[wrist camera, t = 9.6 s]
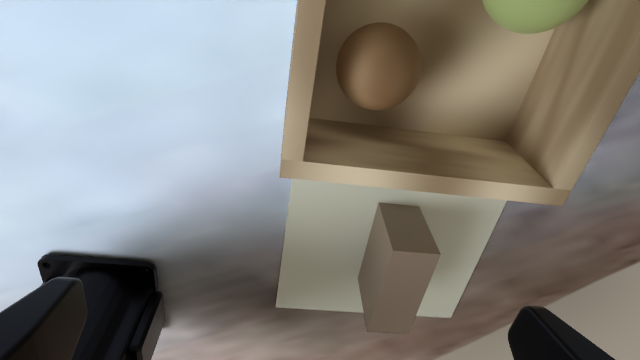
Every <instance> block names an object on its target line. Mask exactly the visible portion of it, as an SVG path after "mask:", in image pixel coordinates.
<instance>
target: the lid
mask: <svg viewBox="0 0 640 360" xmlns="http://www.w3.org/2000/svg"><path fill="white" fill-rule="evenodd" d="M506 202H507V200H499V199H489V198H479V197H469V196H459V195H449V194H440V193H430V192H420V191H410V190H400V189H390V188H381V187H371V186H361V185H351V184H341V183H331V182H322V181H312V180H302V179H292V181H291V189H290V197H289V205H288V213H287V220H286V228H285V236H284V244H283V252H282V260H281V267H280V275H279V283H278V291H277V299H276V307H278V308H295V309H311V310H328V311H344V312H361V313H364V318H365V324H366V329H367V332H382V333H400V334H409V331H410V329H411V326H412V324H413V321H414V319H415V317H416V316H426V317H443V318H451V317H452V315H453V313H454V310H455V308H456V306H457V304H458V302H459V300H460V298H461V296H462V294H463V292H464V290H465V288H466V285H467V283H468V281H469V279H470V277H471V275H472V273H473V271H474V269H475V267H476V265H477V263H478V261H479V258H480V256H481V254H482V252H483V250H484V248H485V246H486V244H487V242H488V240H489V238H490V236H491V234H492V231H493V229H494V227H495V225H496V223H497V221H498V219H499V217H500V215H501V213H502V211H503V209H504V206H505V204H506Z"/></svg>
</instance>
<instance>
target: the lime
mask: <svg viewBox="0 0 640 360" xmlns="http://www.w3.org/2000/svg"><path fill="white" fill-rule="evenodd" d="M482 1H483V4H484V7H485V9H486V11H487V13H488V14H489V16H490V17H491V18H492V19H493V21H494V22H496V23H497V24H498V25H499V26H501V27H503V28H504V29H506V30H509V31H511V32H515V33H520V34H536V33H541V32H545V31H548V30H551V29H554V28H556V27H558V26H560V25H562V24H563V23H565V22H567V21H568V20H570V19H571V18H572V17H573V16H575V15H576V14H577V13H578V12H579V11H580V10H581V9H582V8H583V7H584V5H585V4H586V3H587V2H588V0H482Z"/></svg>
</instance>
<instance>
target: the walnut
mask: <svg viewBox="0 0 640 360" xmlns="http://www.w3.org/2000/svg"><path fill="white" fill-rule="evenodd" d="M336 73H337V79H338V82H339V85H340V87H341V89H342V91H343V92H344V94H345V95H346V96H347V97H348V98H349V99H350V100H351V101H352V102H353V103H355V104H356V105H358V106H360V107H362V108H366V109H370V110H384V109H389V108H392V107H394V106H396V105H398V104H400V103H401V102H403V101H404V100H405V99H406V98H407V97H408V96H409V95H410V94H411V93H412V92H413V90H414V89H415V87H416V85H417V83H418V80H419V78H420V73H421V56H420V52H419V49H418V46H417V44H416V42H415V41H414V40H413V38H412V37H411V36H410V35H409V34H408V33H407V32H406V31H405V30H404V29H402V28H400V27H398V26H396V25H393V24H390V23H383V22H379V23H372V24H368V25H365V26H363V27H361V28H359V29H357V30H356V31H354V32H353V33H352V34H351V35H350V36H349V37H348V38H347V39H346V40H345V42H344V43H343V45H342V47H341V49H340V51H339V54H338V57H337V63H336Z"/></svg>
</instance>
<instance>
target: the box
mask: <svg viewBox="0 0 640 360" xmlns="http://www.w3.org/2000/svg"><path fill="white" fill-rule="evenodd" d="M379 22H383V23H390V24H393V25H396V26H398V27H400V28H402V29H404V30H405V31H406V32H407V33H408V34H409V35H410V36H411V37H412V38H413V40H414V41H415V42H416V44H417V46H418V49H419V52H420V56H421V73H420V78H419V80H418V83H417V85H416V87H415V89H414V90H413V92H412V93H411V94H410V95H409V96H408V97H407V98H406V99H405V100H404V101H403V102H401V103H400V104H398V105H396V106H394V107H392V108H389V109H384V110H370V109H366V108H362V107H360V106H358V105H356V104H355V103H353V102H352V101H351V100H350V99H349V98H348V97H347V96H346V95H345V94H344V92H343V91H342V89H341V87H340V85H339V82H338V79H337V73H336V63H337V57H338V54H339V51H340V49H341V47H342V45H343V43H344V42H345V40H346V39H347V38H348V37H349V36H350V35H351V34H352V33H353V32H354V31H356V30H357V29H359V28H361V27H363V26H365V25H368V24H372V23H379ZM639 72H640V0H588V2H587V3H586V4H585V5H584V7H583V8H582V9H581V10H580V11H579V12H578V13H577V14H576V15H575V16H573V17H572V18H571V19H570V20H568V21H567V22H565V23H563V24H562V25H560V26H558V27H556V28H554V29H551V30H548V31H545V32H541V33H536V34H520V33H515V32H511V31H509V30H506V29H504V28H503V27H501V26H499V25H498V24H497V23H496V22H494V21H493V19H492V18H491V17H490V16H489V14H488V13H487V11H486V9H485V7H484V4H483V1H482V0H297V8H296V17H295V27H294V36H293V45H292V54H291V64H290V73H289V82H288V91H287V101H286V110H285V119H284V129H283V142H282V155H281V167H280V177H282V178H292V179H302V180H312V181H322V182H331V183H341V184H351V185H361V186H371V187H381V188H390V189H400V190H410V191H420V192H430V193H440V194H449V195H459V196H469V197H479V198H489V199H499V200H508V201H518V202H528V203H538V204H548V205H558V206H563V204H564V203H565V201H566V199H567V197H568V196H569V194H570V192H571V191H572V189H573V187H574V185H575V184H576V182H577V180H578V178H579V177H580V175H581V173H582V171H583V170H584V168H585V166H586V164H587V163H588V161H589V159H590V157H591V156H592V154H593V152H594V151H595V149H596V147H597V145H598V144H599V142H600V140H601V138H602V137H603V135H604V133H605V131H606V130H607V128H608V126H609V124H610V123H611V121H612V119H613V117H614V116H615V114H616V112H617V111H618V109H619V107H620V105H621V104H622V102H623V100H624V98H625V97H626V95H627V93H628V91H629V90H630V88H631V86H632V84H633V83H634V81H635V79H636V78H637V76H638V74H639Z"/></svg>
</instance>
